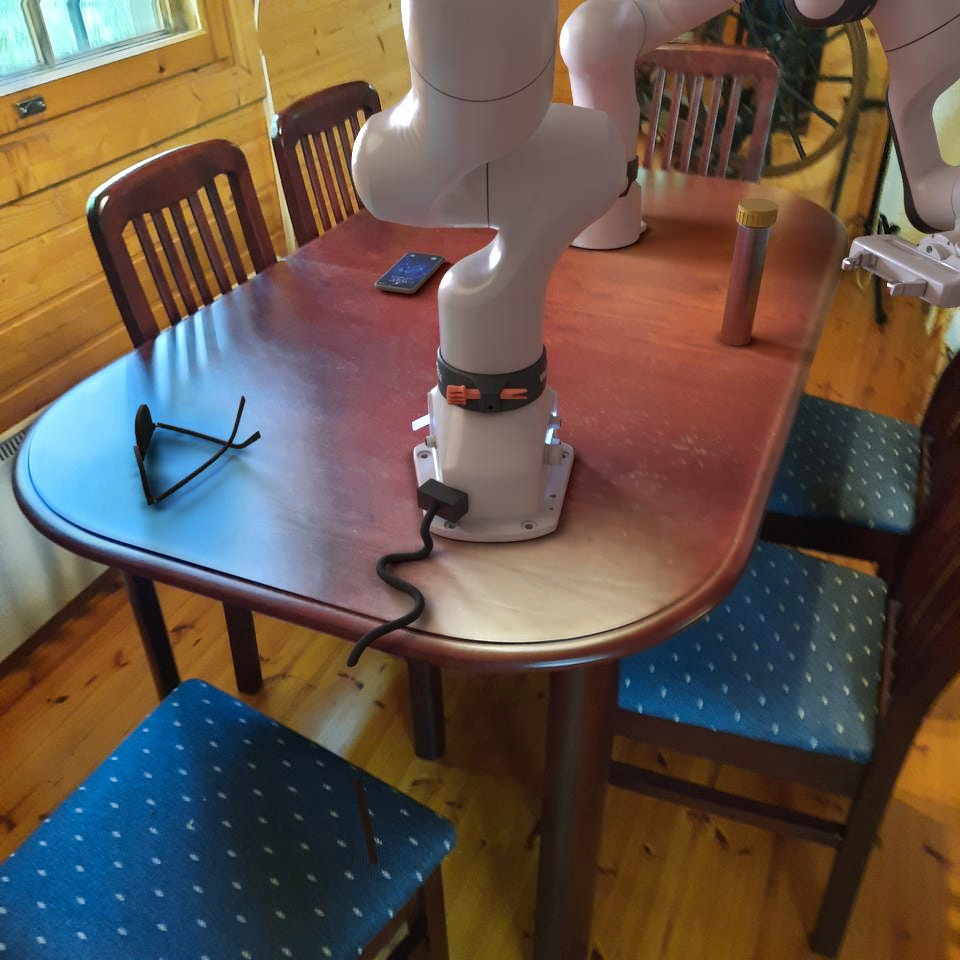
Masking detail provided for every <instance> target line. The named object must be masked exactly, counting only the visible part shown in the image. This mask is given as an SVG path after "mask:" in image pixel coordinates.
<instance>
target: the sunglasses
mask: <svg viewBox="0 0 960 960" xmlns="http://www.w3.org/2000/svg"><path fill="white" fill-rule="evenodd" d="M245 404H246V398H245V396H244V395H241V396H240V401H239V405H238V408H237V409H238V410H237V413H236V417H235V421H234V425H233V429H232V432H231V435H230V437H229V439H228V440H227V441H226V440H223V439H220V438H217V437H214V436H211V435H208V434H204V433H201V432H198V431H195V430H192V429H188V428H184V427H180V426H176V425H172V424H169V423H164V422H159V421H157V422H153V418H152V414H151V411H150V408H149V406H148V404H146V403H142V404H140V405H139V406H138V409H137V411H136V413H135V418H134V436H135V444H136V445H133V447H132V448H133V452H134V455H135V460H136V463H137V467H138V471H139V475H140V479H141V485H142V489H143V493H144V497H145V500H146V503H147V505H148V506H151V505H154V504H155V501H156V503H157V504H160V503H162V501H164V500H165V499H167V498H168V497H170V496H171V495H172V494H174V493H175V492H177V491H178V490H179V489H181V488H182V487H184V486H185V485H187V484H188V483H189V482H191V481H192V480H193V479H194V478H196V477H197V476H198V475H200V474H202V473H203V472H204V471H205V470H206V469H208V467H210V466H211V465H212V464H213V463H215V462H216V461H217V460H218V459H220V457H222V455H223V454H224V453H225V452H226V451H228V449H229V448H231V449H233V450H242V449H246V448H247V447H249V446H250V445H252V444H254V443H255V442H256V441H258V440H260V439H261V438H262V435H261V432H260V430H256V431H255V432H254V433H253V434H252V435H250V436H249V437H248V438H247V439H246V440H245V441H244V442H241V443H233V442H234V441H235V438H236V435H237V434H238V429H239V426H240V423H241V419H242V415H243V412H244V409H245ZM157 428H160V429H164V430H168V431H172V432H175V433H179V434H183V435H188V436H191V437H195V438H199V439H202V440H205V441H209V442H211V443H215V444H218V445H221V446H223V447H221V449H220V450H219V451H217V452H216V453H215V454H214V455H213V456H212V457H211V458H209V459H208V460H207V461H206V462H204V463H203V464H202V465H200V466H199V467H198V468H196V469H195V470H193V471H192V472H191V473H189V474H188V475H187V476H186V477H184V478H183V479H180V481H178V482H177V483H176V484H174V485H172V486H171V487H169V488H168V489H166V490H165V491H163V492H162V493H161V494H160V495H158V496H157V497H154V495H152V491H151V487H150V484H149V479H148V474H147V470H146V467H145V463H144V461H145V459H146V456H147V453H148V450H149V448H150V445H151V442H152V438H153V435H154V432H155V430H157Z"/></svg>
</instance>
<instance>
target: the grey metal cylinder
mask: <svg viewBox="0 0 960 960" xmlns="http://www.w3.org/2000/svg"><path fill="white" fill-rule="evenodd" d="M771 231H772V226H769V227H763V228H755V227H748V226H744V225H741V224H740V223H738V224H737V230H736V237H735V243H734V248H733V255H732V260H731V261H732V262H731V268H730V274H729V281H728V285H727V292H726V298H725V305H724V310H723V318H722V322H721V329H720V336H719V338H720V341H721V342H722V343H724V344H727V345H729V346H736V347H742V346H746V345H748V344H749V343H750V342H751V340H752V334H753V328H754V324H755V323H754V322H755V318H756V313H757V306H758V301H759V296H760V292H761V291H760V290H761V285H762V279H763V274H764V269H765V263H766V259H767V254H768V253H767V252H768V247H769V241H770V236H771Z"/></svg>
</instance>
